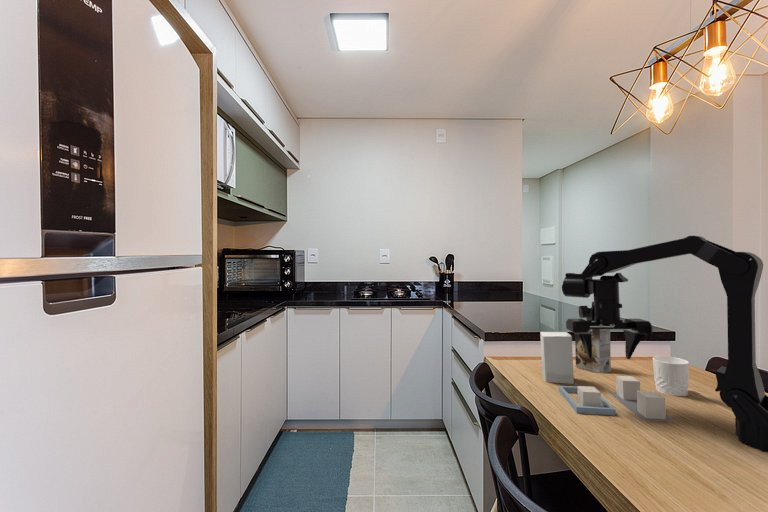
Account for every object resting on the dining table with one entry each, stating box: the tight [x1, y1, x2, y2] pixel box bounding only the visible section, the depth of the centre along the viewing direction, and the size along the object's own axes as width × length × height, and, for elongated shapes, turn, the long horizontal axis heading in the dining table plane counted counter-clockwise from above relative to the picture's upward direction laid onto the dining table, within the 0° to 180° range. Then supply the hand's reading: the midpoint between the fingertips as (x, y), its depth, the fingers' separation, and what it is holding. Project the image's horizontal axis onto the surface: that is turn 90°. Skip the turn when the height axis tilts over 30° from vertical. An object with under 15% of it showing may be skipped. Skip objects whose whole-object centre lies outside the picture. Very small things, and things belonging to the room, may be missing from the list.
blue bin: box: [558, 385, 616, 416], centre depth 91 cm, size 15×9×3 cm, turn 169°
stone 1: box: [576, 385, 602, 407], centre depth 88 cm, size 4×4×5 cm
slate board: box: [608, 391, 676, 423], centre depth 88 cm, size 17×7×1 cm, turn 169°
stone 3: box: [637, 390, 667, 419], centre depth 83 cm, size 4×4×5 cm
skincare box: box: [539, 331, 575, 385], centre depth 108 cm, size 8×7×16 cm
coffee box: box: [574, 324, 612, 374], centre depth 121 cm, size 9×6×16 cm
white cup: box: [652, 355, 690, 397], centre depth 97 cm, size 8×8×10 cm
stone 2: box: [615, 375, 641, 400], centre depth 94 cm, size 4×4×5 cm
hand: (608, 358), depth 91 cm, fingers open, 9 cm apart
